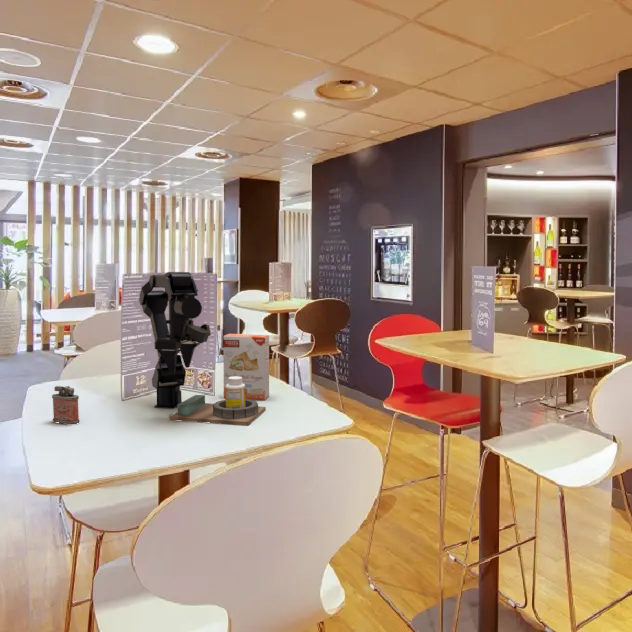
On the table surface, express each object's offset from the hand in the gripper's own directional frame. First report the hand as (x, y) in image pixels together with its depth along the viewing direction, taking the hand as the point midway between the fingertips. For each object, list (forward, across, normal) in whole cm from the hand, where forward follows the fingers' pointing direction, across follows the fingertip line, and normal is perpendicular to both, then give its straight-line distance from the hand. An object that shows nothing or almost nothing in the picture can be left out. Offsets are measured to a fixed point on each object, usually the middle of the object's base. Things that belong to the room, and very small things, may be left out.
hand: (180, 370), depth 150 cm
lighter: (+13, -14, +27) cm, 33 cm away
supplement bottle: (+12, +2, -16) cm, 20 cm away
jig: (+13, +2, -11) cm, 17 cm away
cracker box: (+13, +23, -12) cm, 29 cm away
